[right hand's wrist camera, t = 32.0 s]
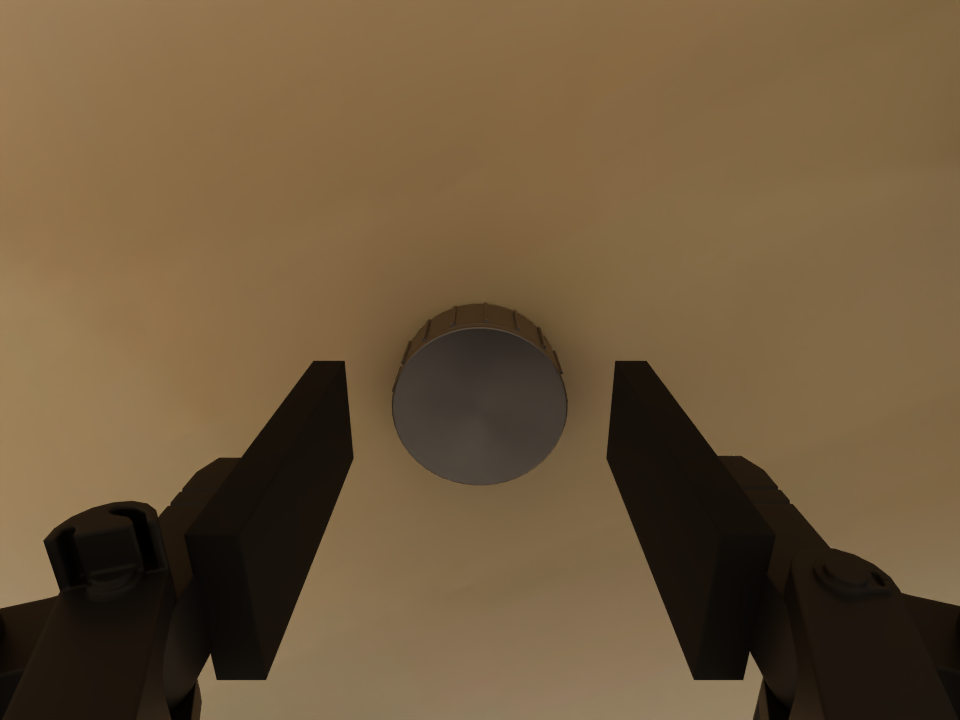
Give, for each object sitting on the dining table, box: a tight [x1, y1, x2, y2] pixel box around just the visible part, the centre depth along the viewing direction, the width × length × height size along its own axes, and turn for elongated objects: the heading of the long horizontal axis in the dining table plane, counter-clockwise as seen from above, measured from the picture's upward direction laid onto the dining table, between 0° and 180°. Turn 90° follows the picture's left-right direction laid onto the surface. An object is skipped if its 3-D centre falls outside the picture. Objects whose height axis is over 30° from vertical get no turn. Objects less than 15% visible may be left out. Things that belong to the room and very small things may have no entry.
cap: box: [392, 303, 568, 485], centre depth 15 cm, size 4×4×2 cm
